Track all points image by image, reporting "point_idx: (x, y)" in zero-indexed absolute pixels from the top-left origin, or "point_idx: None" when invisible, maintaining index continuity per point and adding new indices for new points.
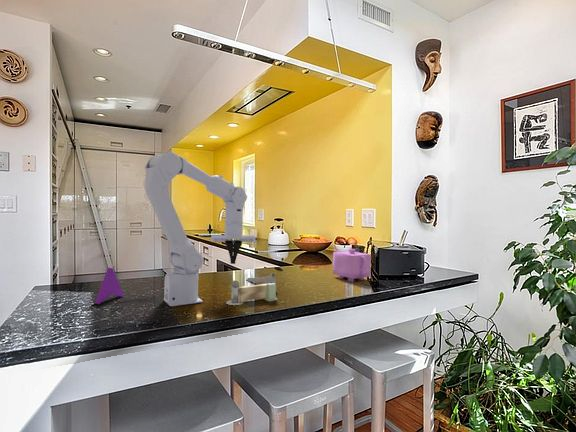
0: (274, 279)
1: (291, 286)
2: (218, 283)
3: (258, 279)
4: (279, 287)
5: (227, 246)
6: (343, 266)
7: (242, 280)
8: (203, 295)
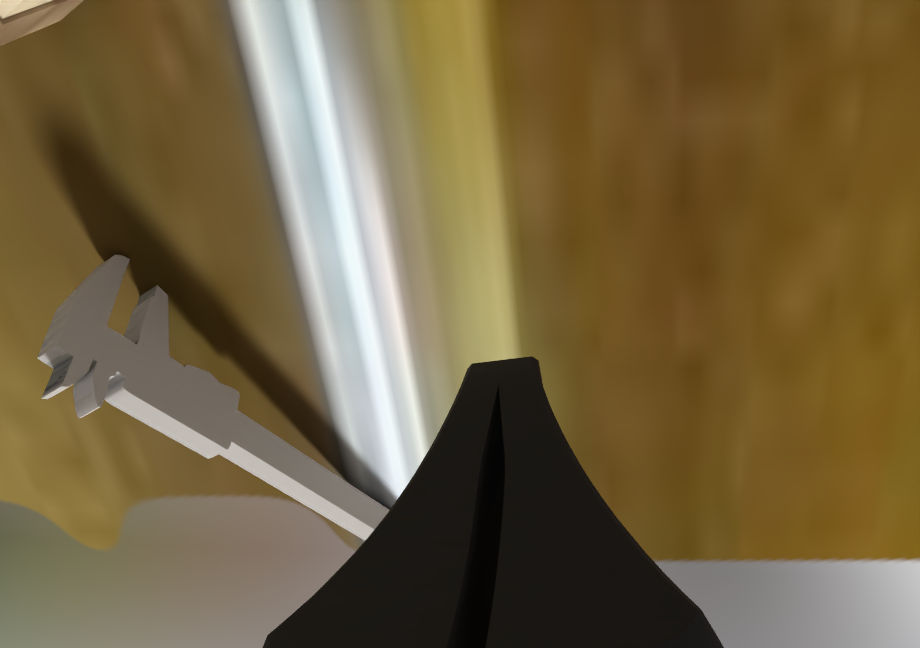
0: (55, 327)
1: (30, 406)
2: (654, 474)
3: (297, 469)
4: None
5: (667, 594)
6: None
7: None
8: (825, 62)
